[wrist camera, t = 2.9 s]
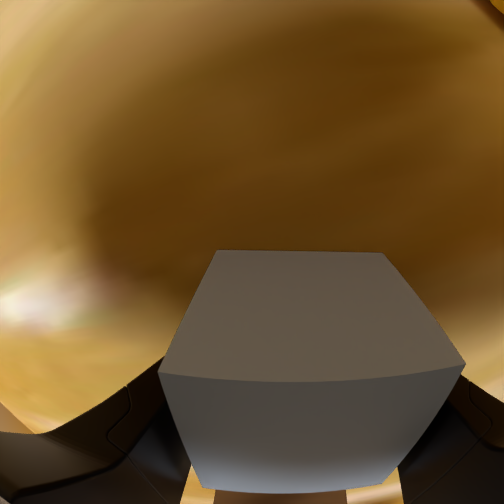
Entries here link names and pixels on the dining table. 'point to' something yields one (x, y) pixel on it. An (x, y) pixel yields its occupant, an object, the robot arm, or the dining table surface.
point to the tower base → (280, 497)
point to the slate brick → (304, 371)
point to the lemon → (498, 5)
